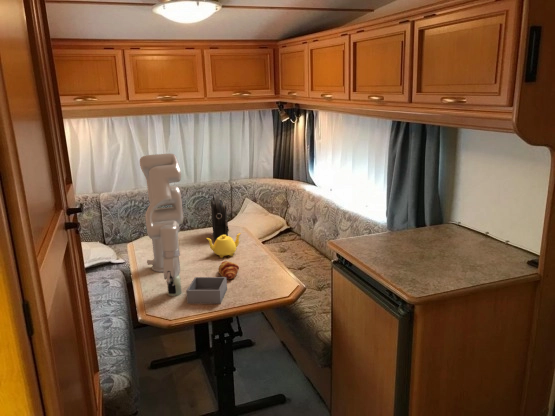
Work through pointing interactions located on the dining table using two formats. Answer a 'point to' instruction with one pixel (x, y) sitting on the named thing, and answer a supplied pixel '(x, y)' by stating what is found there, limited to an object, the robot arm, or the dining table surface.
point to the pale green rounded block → (176, 286)
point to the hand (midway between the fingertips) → (174, 289)
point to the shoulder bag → (218, 217)
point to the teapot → (224, 245)
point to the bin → (207, 290)
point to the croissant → (228, 269)
